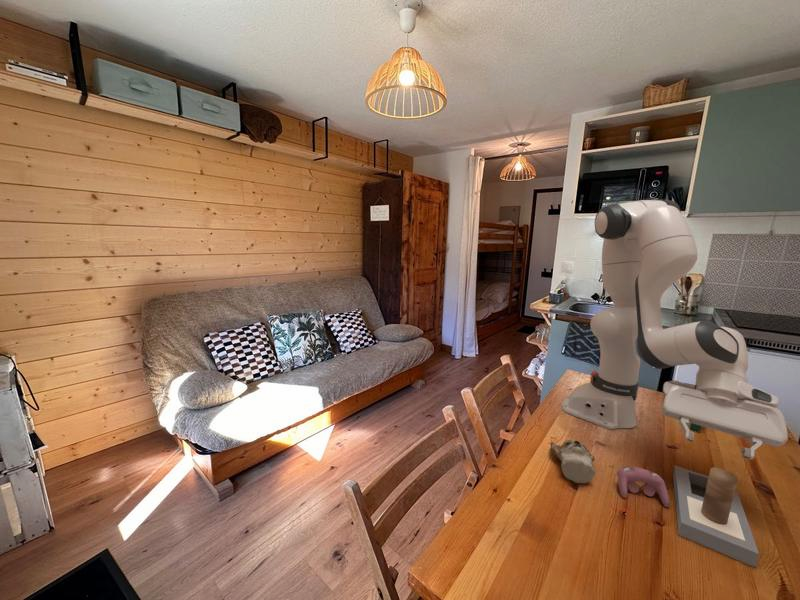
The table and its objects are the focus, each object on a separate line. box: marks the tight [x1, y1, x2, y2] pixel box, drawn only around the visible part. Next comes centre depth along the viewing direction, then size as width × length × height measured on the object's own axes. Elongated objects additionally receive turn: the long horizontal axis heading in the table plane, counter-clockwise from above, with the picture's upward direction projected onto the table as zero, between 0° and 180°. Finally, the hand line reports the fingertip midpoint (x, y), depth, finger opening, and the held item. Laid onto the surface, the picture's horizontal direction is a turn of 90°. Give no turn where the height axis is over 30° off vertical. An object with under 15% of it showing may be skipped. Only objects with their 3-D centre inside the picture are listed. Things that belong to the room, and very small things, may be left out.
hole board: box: [672, 465, 760, 568], centre depth 72 cm, size 11×22×3 cm, turn 143°
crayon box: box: [688, 423, 704, 433], centre depth 106 cm, size 7×3×12 cm, turn 129°
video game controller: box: [616, 466, 671, 508], centre depth 78 cm, size 10×5×7 cm, turn 72°
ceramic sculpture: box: [550, 439, 596, 484], centre depth 85 cm, size 11×9×15 cm
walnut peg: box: [701, 466, 739, 525], centre depth 67 cm, size 4×4×10 cm
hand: (717, 448), depth 71 cm, fingers open, 8 cm apart
